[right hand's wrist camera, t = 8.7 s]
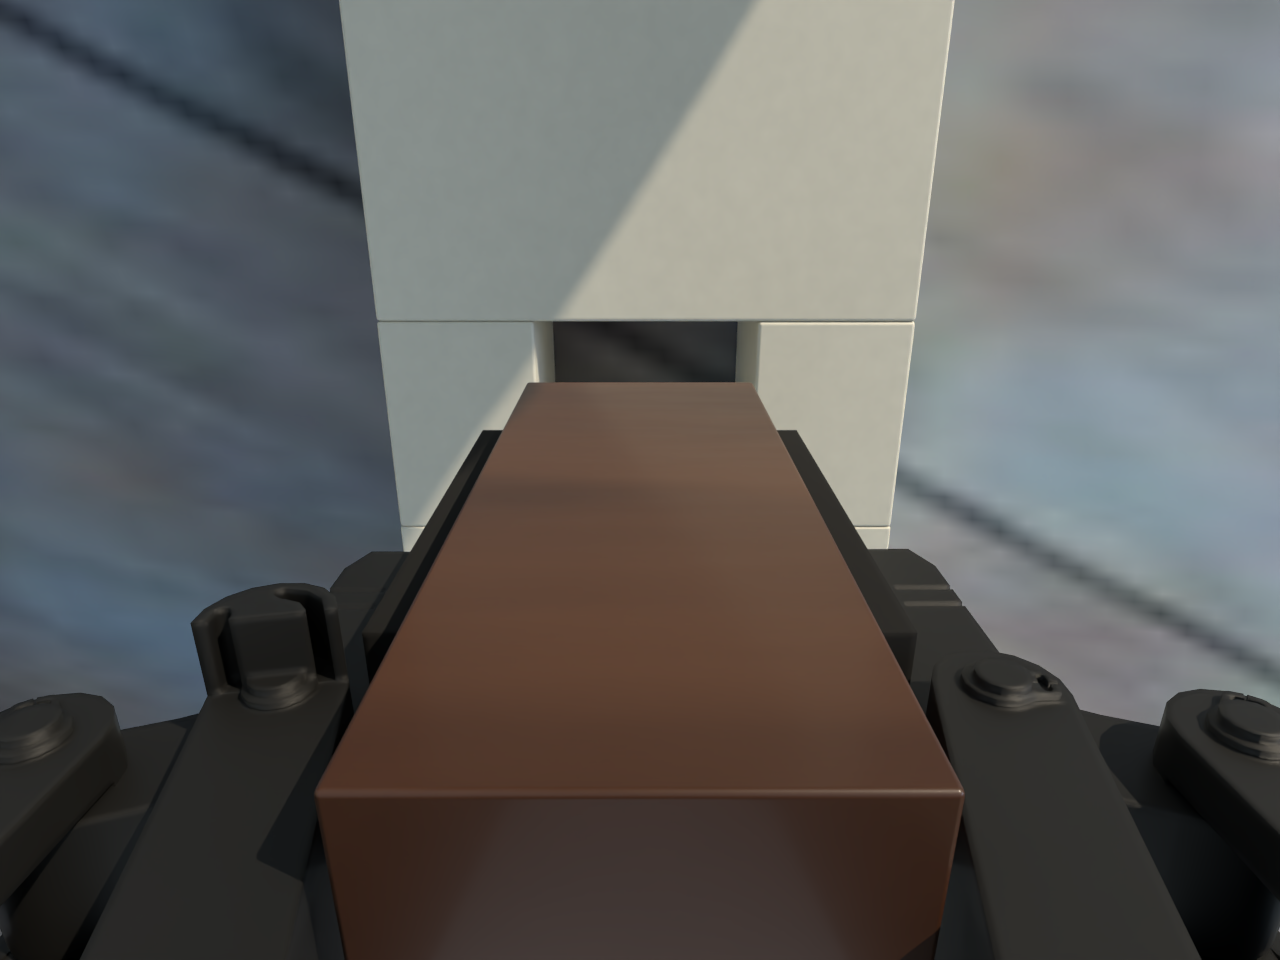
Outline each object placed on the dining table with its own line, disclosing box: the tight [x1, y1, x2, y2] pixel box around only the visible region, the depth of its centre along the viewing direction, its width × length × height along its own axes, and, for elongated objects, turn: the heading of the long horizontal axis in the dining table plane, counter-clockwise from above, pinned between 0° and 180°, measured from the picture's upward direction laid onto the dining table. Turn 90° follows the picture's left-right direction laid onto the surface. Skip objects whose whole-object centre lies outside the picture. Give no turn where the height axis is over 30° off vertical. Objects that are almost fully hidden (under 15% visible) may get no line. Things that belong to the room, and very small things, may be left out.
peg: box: [314, 382, 965, 960], centre depth 10 cm, size 4×4×10 cm
